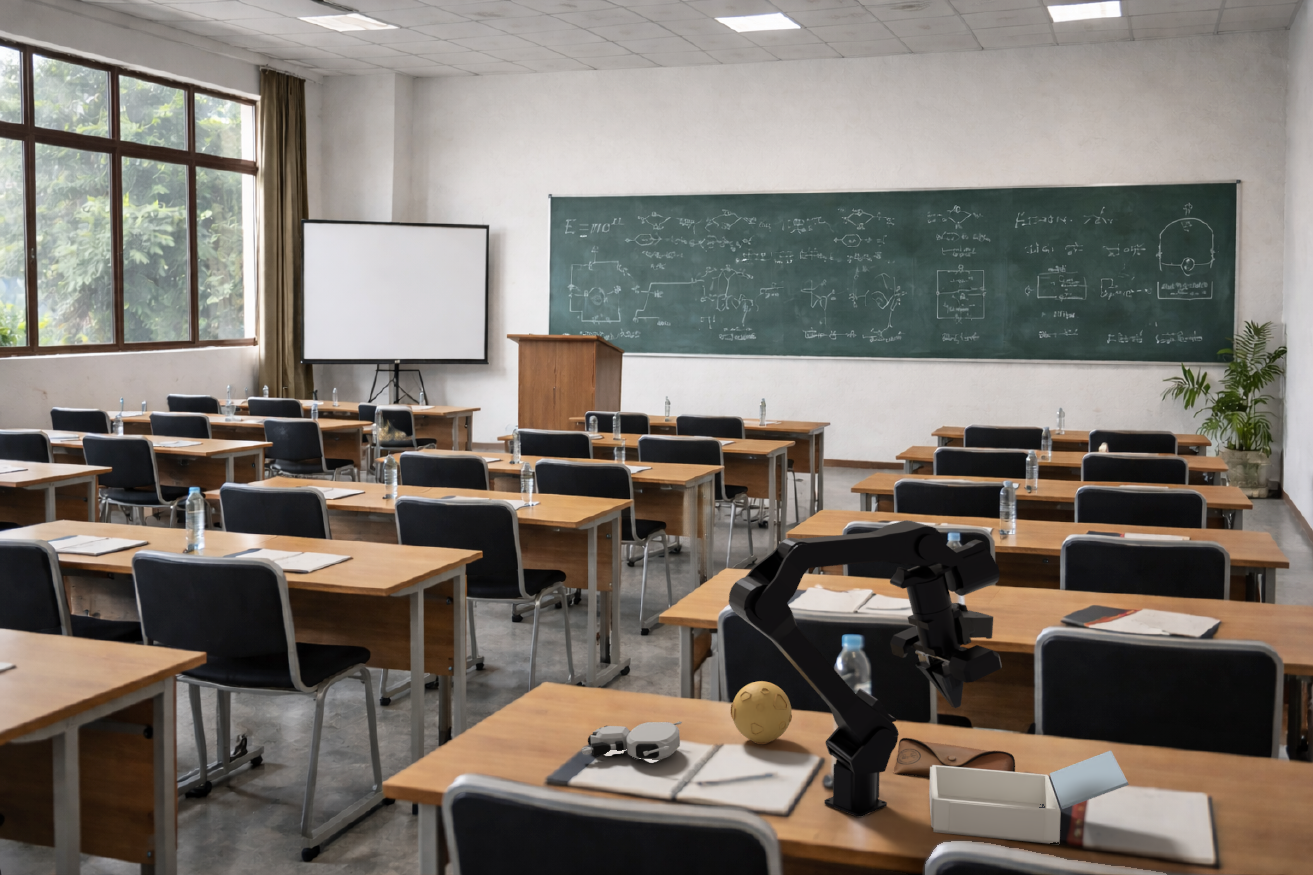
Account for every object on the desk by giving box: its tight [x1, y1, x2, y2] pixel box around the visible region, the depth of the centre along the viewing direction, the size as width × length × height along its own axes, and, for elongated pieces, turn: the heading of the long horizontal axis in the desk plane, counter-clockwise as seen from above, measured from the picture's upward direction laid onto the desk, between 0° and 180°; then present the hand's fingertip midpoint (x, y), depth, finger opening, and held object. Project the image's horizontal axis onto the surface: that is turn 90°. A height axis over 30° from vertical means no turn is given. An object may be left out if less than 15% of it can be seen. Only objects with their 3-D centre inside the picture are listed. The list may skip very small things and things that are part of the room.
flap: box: [1048, 750, 1130, 810], centre depth 149 cm, size 1×12×9 cm
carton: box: [928, 765, 1061, 844], centre depth 152 cm, size 16×14×4 cm
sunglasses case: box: [892, 737, 1016, 779], centre depth 169 cm, size 18×7×7 cm, turn 69°
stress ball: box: [730, 680, 793, 745], centre depth 182 cm, size 10×10×10 cm
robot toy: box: [581, 721, 683, 761], centre depth 176 cm, size 12×4×15 cm
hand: (956, 706), depth 160 cm, fingers closed
